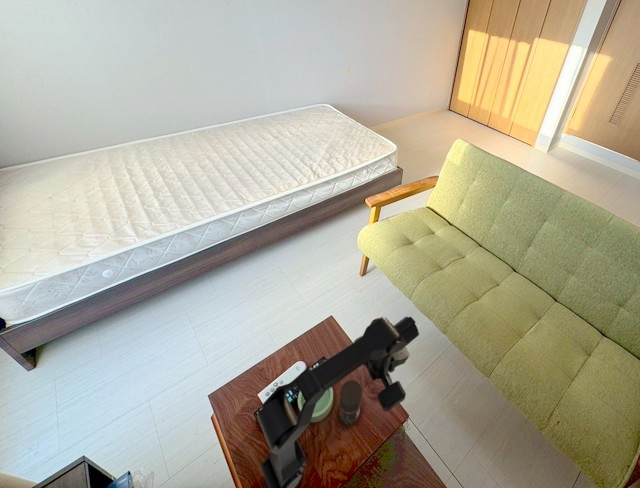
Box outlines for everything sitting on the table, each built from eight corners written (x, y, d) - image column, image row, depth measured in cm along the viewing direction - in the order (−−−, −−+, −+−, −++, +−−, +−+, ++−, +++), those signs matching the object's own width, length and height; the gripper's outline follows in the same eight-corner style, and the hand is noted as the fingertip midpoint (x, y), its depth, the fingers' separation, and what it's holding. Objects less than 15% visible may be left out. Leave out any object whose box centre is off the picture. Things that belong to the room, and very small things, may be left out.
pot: (310, 431, 85) (310, 425, 83) (292, 401, 90) (291, 395, 88) (339, 403, 92) (339, 397, 89) (320, 376, 97) (320, 370, 94)
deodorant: (355, 427, 87) (358, 408, 78) (336, 421, 88) (336, 401, 79) (362, 404, 92) (364, 383, 83) (343, 398, 93) (344, 377, 84)
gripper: (427, 374, 74) (417, 398, 83) (389, 311, 86) (384, 339, 95) (388, 399, 68) (382, 423, 77) (353, 329, 80) (351, 357, 89)
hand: (375, 381), depth 85 cm, fingers open, 9 cm apart
